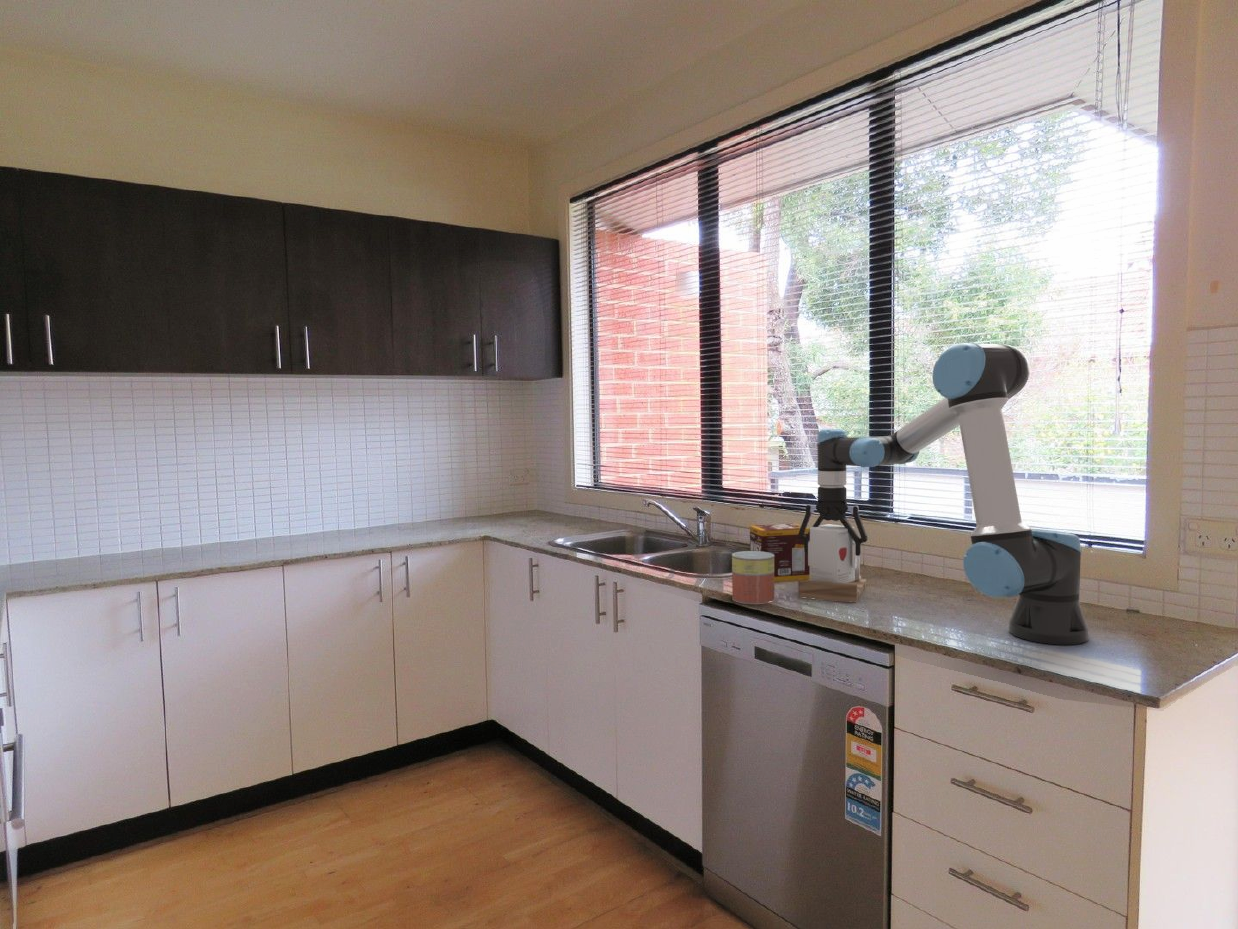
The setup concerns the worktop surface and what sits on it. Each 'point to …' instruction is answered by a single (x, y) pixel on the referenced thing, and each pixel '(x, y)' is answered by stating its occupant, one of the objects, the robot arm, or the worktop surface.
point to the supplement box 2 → (831, 554)
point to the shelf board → (831, 590)
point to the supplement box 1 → (782, 550)
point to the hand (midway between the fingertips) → (832, 566)
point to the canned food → (753, 577)
